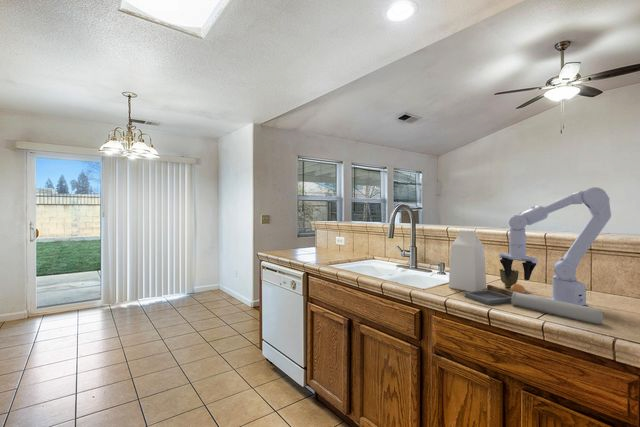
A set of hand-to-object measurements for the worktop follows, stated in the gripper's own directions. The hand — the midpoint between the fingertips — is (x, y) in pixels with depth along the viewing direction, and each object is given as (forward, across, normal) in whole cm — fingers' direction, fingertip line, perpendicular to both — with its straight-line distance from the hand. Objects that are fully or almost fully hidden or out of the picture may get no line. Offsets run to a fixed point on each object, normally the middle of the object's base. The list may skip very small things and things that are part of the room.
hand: (517, 278), depth 127 cm
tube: (+8, -19, +10) cm, 23 cm away
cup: (+8, +11, -10) cm, 17 cm away
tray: (+7, +2, +15) cm, 17 cm away
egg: (+5, 0, 0) cm, 5 cm away
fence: (+7, +1, +6) cm, 9 cm away
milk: (+8, +19, +6) cm, 21 cm away
